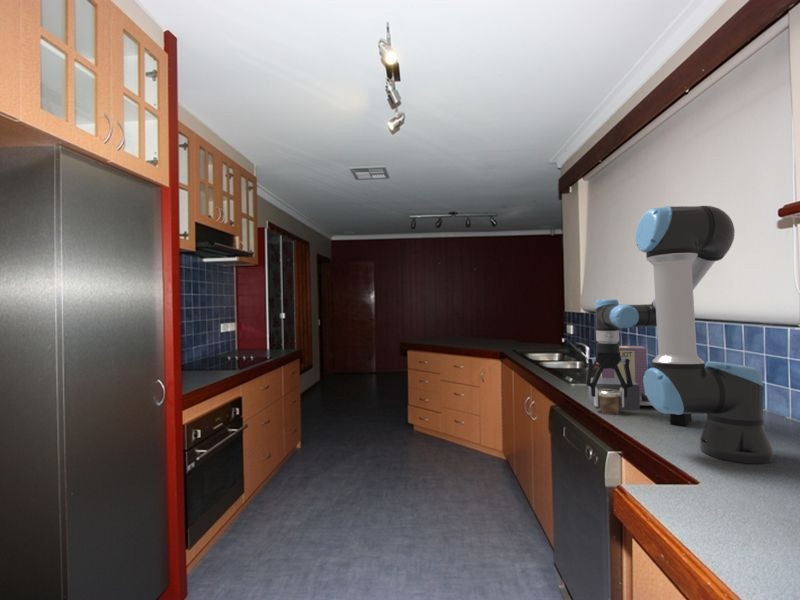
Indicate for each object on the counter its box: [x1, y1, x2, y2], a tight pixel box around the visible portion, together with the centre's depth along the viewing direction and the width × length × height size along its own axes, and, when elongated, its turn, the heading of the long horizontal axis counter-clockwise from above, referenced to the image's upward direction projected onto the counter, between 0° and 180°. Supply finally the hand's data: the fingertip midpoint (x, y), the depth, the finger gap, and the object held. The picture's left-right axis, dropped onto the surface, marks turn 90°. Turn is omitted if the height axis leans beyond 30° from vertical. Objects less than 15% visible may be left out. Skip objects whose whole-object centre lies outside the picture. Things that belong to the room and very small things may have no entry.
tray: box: [640, 391, 653, 407], centre depth 166 cm, size 17×14×7 cm
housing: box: [587, 376, 641, 411], centre depth 169 cm, size 15×14×9 cm
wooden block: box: [599, 396, 619, 415], centre depth 158 cm, size 5×5×6 cm
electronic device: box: [669, 414, 692, 427], centre depth 143 cm, size 4×10×10 cm, turn 137°
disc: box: [598, 389, 621, 398], centre depth 158 cm, size 8×8×2 cm
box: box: [600, 345, 648, 397], centre depth 188 cm, size 17×9×20 cm, turn 69°
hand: (609, 405), depth 158 cm, fingers closed on disc, 8 cm apart
